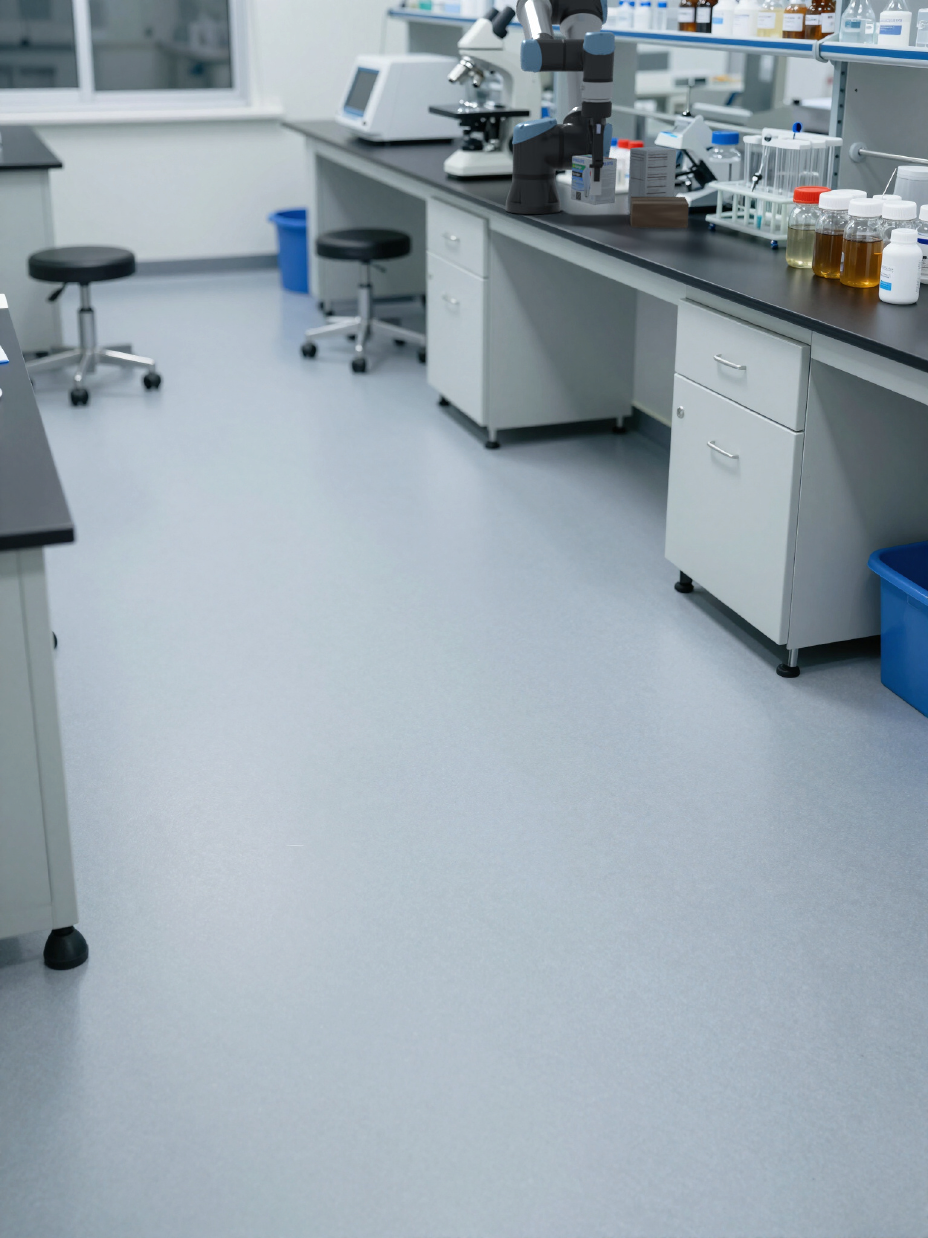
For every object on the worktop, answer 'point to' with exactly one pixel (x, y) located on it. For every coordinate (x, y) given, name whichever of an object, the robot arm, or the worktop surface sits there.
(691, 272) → the worktop surface
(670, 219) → the walnut plinth
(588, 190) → the light bulb box
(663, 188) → the supplement box
